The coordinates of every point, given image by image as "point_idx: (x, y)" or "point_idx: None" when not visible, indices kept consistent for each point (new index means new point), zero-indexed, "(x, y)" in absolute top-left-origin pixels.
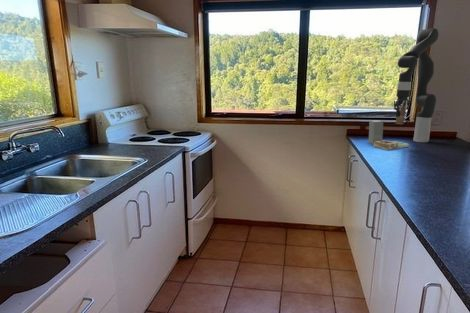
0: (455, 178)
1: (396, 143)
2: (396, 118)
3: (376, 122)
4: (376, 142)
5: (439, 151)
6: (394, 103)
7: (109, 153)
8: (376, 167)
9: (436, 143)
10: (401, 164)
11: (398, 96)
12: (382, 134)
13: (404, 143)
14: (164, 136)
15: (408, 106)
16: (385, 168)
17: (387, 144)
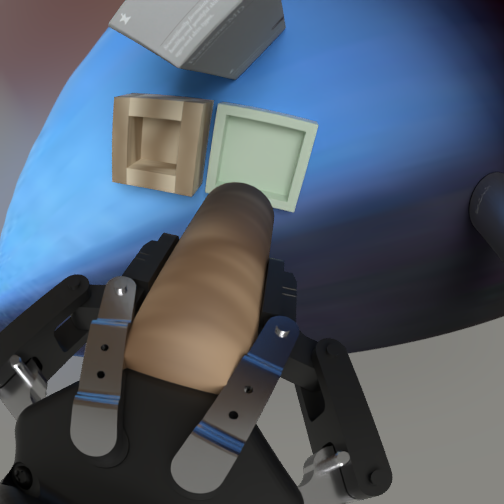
0: None
1: (178, 193)
2: (193, 218)
3: (124, 35)
4: (114, 113)
5: (307, 309)
6: (3, 343)
7: None
8: (2, 247)
9: (474, 262)
10: (50, 274)
11: (11, 483)
12: (216, 75)
13: (290, 190)
14: None
15: (315, 412)
16: (12, 261)
17: (112, 180)
